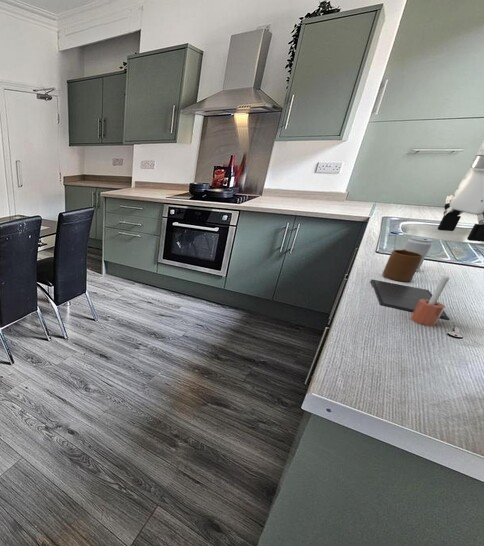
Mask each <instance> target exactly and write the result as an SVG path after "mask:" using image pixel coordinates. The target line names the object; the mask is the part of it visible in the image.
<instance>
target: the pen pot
mask: <svg viewBox="0 0 484 546" xmlns="http://www.w3.org/2000/svg"><path fill="white" fill-rule="evenodd" d="M429 301H430V300H427V299H420V300H419V301H418V303H417V305H416V307H415V309H414V311H413V312H411V315H410V317H409V319H410V320H411V321H413V322H415V323H416V324H419V325H423V326H426V327H427V326H429V327H434V326H435V325H436V324H437V323H438V321H439V319H440V318H439V317H440V316H441V314H442V312H443V310H444V311H445V309H446V305H445V304H443V303H441V302H439V301H437V302H436V304H435V305H431V304H428V303H429Z"/></svg>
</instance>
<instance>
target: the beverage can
mask: <svg viewBox="0 0 484 546" xmlns="http://www.w3.org/2000/svg"><path fill="white" fill-rule="evenodd" d="M432 241H433V240H432V239H431V238H427V237H422V236H409V238H408V239H407V240H406V242H405V244H404V247H403V249H405V250H407V251H411V252H415V253H418V254H421V255H422V259H421V261H420V264H419V266H418V268H417V270H416V271H418V270H420V269H421V267H422V265H423V263H424V260H425V259H426V257H427V255H428V253H429V251H430V248H431V247H432V245H433V243H432Z"/></svg>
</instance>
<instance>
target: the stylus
mask: <svg viewBox="0 0 484 546" xmlns="http://www.w3.org/2000/svg"><path fill="white" fill-rule="evenodd" d="M449 280H450V277H449V276H441V278H440V280H439V282H438V284H437V285H436V288H435V290H434V291H433V293H432V297H431V299H430V301H429V303H428V304H431V305H435V304H436V302H438V300H439V298H440V297H441V295H442V293H443V291H444V289H445V287H446V285H447V283H448V282H449Z"/></svg>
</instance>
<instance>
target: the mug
mask: <svg viewBox="0 0 484 546" xmlns="http://www.w3.org/2000/svg"><path fill="white" fill-rule="evenodd" d="M421 259H422V255H421V254H418V253H415V252H411V251H407V250H405V249H404V248H403V249H394V250H392V252H391V253H390V254H389V258H388V260H387V262H386V264H385V265H384V269H383V271H382V276H384V278H387V279H389V280H392V281H396V282H403V283H404V282H405V283H406V282H407V283H408V282H411V281H412V280H413V278H414V276H415V274H416V272H417V271H418V270H417V268H418V266H419V264H420V261H421Z"/></svg>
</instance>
